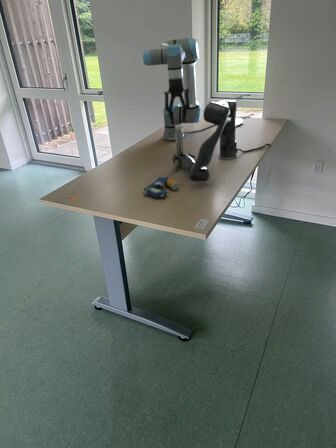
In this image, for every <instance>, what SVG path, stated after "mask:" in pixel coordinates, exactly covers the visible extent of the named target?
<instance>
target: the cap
mask: <svg viewBox="0 0 336 448" xmlns="http://www.w3.org/2000/svg"><path fill="white" fill-rule="evenodd" d="M175 129H182V130H183V125H182V124H181V125H176V126H175Z"/></svg>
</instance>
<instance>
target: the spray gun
mask: <svg viewBox="0 0 336 448" xmlns="http://www.w3.org/2000/svg"><path fill="white" fill-rule="evenodd" d="M166 186H167V187H168V188H170V189H171V190H172V191H176V190H178V188H179V186H180V184H179V182H177V181H175V179H172V178H168V176H167V175H164V176H163V175H162V176H160V175H157V176H156V178H155V179H154V180H153V181H152V182H150V184H148V185H147V186H145V188H144V189H143V195H146V196H151V197H153V198H155V199H160V198H165V197H166V196H167V194H168V190H166V188H165V187H166Z"/></svg>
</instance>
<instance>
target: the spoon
mask: <svg viewBox="0 0 336 448" xmlns="http://www.w3.org/2000/svg"><path fill="white" fill-rule="evenodd" d="M243 122H244V120H243V118H241V117H236V127H237V126H239V125H241V124H243Z"/></svg>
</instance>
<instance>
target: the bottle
mask: <svg viewBox="0 0 336 448" xmlns="http://www.w3.org/2000/svg"><path fill="white" fill-rule="evenodd" d="M182 132H183V129H182V130H181V129H176V133H175V139H176V141H175V151H176V152H175V154H176V155H177V156H181V157H183V156H184V153H185V150H184V147H185V146H184V137H183V134H184V133H182ZM176 166H177V167H178V168H182V167H181V165H180V164H179V163H178V162H177V163H176Z"/></svg>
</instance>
